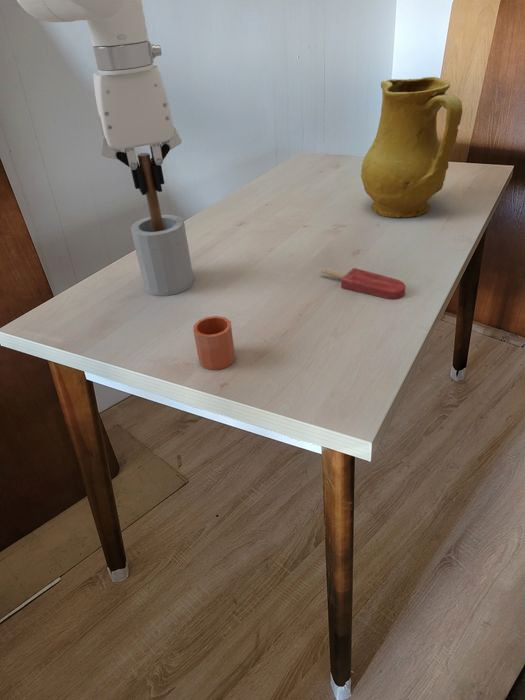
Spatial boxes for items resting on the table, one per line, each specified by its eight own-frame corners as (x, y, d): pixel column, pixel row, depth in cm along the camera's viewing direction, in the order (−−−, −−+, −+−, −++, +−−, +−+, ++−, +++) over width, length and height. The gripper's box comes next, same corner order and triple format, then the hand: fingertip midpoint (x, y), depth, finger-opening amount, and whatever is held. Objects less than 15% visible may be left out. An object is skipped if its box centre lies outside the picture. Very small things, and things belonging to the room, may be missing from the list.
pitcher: (424, 187, 120) (436, 67, 105) (457, 221, 106) (477, 87, 90) (351, 198, 120) (352, 78, 104) (375, 233, 105) (380, 101, 90)
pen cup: (192, 365, 72) (186, 332, 68) (210, 345, 75) (205, 313, 72) (224, 373, 70) (219, 339, 66) (241, 352, 73) (237, 319, 70)
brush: (156, 274, 90) (131, 156, 79) (165, 268, 92) (141, 151, 80) (169, 276, 89) (145, 157, 78) (177, 270, 91) (155, 152, 79)
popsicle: (327, 260, 90) (410, 280, 83) (327, 269, 91) (409, 290, 84) (314, 271, 88) (398, 293, 80) (314, 280, 89) (397, 303, 81)
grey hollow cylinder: (135, 291, 90) (120, 232, 84) (162, 269, 97) (150, 212, 90) (176, 299, 87) (164, 237, 81) (202, 275, 93) (193, 217, 87)
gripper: (174, 49, 76) (193, 175, 87) (63, 63, 73) (97, 193, 83) (186, 54, 71) (205, 188, 81) (66, 69, 67) (103, 208, 77)
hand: (150, 190), depth 82 cm, fingers closed on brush
